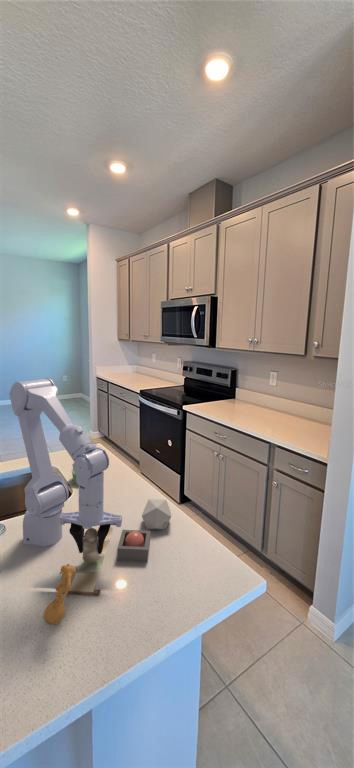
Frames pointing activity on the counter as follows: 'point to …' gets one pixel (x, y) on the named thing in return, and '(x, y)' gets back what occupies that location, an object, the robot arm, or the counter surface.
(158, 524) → the die
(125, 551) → the frame
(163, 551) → the counter surface
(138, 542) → the popper dome
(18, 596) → the counter surface
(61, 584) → the figurine
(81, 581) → the board
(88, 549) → the pawn
